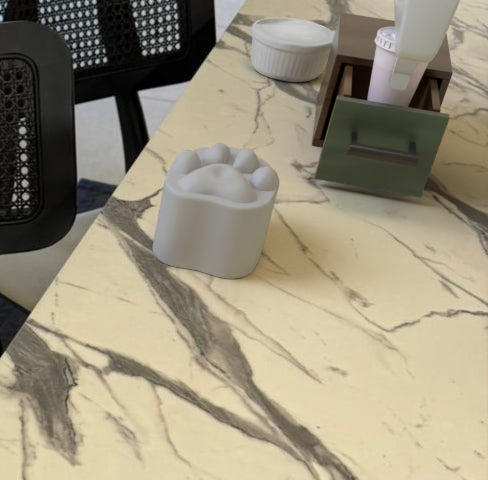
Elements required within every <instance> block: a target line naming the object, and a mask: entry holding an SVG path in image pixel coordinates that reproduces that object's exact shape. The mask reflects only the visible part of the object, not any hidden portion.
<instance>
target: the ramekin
mask: <svg viewBox="0 0 488 480" xmlns="http://www.w3.org/2000/svg"><path fill="white" fill-rule="evenodd" d="M251 35H252V37H251V49H250V51H251V52H250V62H251V65H252V67H253V70H255V71H256V72H257V73H259V74H260V75H262V76H265V77H268V78H270V79H274V80H278V81H283V82H290V83H304V82H309V81H310V82H311V81H312V80H315V79H316V78H317V77H318V76H320V75H321V74H322V73H323V71H324V70H325V67H326V64H327V60H328V57H329V53H330V49H331V46H332V42H333V38H334V35H335V31H333V30H331V29H330V28H328V27H327V26H324V25H322V24H319V23H316V22H312V21H308V20H304V19H300V18H299V19H298V18H294V17H293V18H292V17H280V16H279V17H278V16H277V17H265V18H261V19H260V18H259V19H258V20H256V21H255V22H254V23H253V24H252V28H251Z"/></svg>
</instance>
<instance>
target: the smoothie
mask: <svg viewBox="0 0 488 480" xmlns="http://www.w3.org/2000/svg"><path fill="white" fill-rule="evenodd" d="M374 41H375V43H376V44H377V47H376V52H375V57H374V63H373V69H372V75H371V80H370V86H369V92H368V98H367V101H373V102H379V103H385V104H391V105H397V106H403V107H408V106H409V104H410V101H411V99H412V97H413V95H414V93H415V91H416V89H417V86H418V84H419V82H420V80H421V78H422V76H423V73H424V71H425V69H426V67H427V65H428V63H429V62H420V61H419V62H418V64H417V66H416V68H415V69H414V71H413V73H412V75H411V78H410V81H409V84H408V87H407V88H406V90H404V91H400V90H394V89H391V88H390V85H389V84H390V77H391V74H392V71H393V67H394V66H395V63H396V59H397V56H396V44H395V27H384V28H381V29H379V30H378V32H377V36H376V38H375V40H374Z"/></svg>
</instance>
